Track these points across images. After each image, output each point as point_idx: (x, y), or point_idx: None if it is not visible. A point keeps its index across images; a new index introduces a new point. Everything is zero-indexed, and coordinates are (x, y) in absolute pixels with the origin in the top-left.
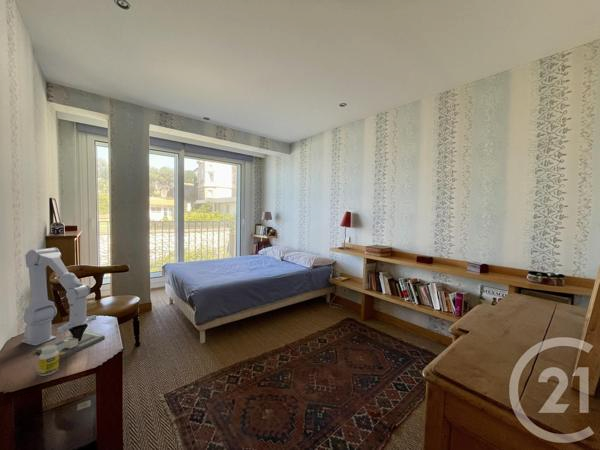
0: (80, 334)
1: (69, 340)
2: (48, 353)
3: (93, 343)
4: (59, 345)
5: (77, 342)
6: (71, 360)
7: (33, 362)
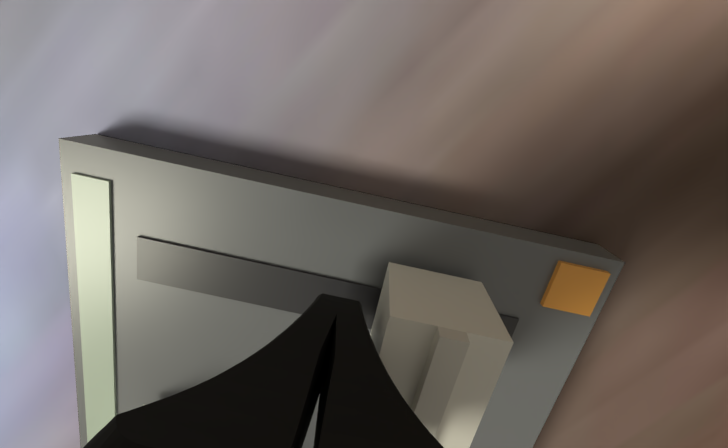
0: (317, 359)
1: (460, 391)
2: None
3: (238, 167)
4: None
5: (396, 283)
6: (638, 99)
7: (638, 425)
